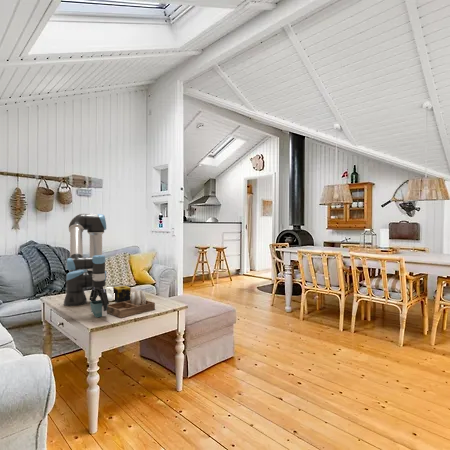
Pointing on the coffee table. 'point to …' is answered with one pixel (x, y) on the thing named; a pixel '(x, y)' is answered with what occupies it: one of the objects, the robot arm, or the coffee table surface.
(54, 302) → the coffee table surface
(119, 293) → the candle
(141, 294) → the tray
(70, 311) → the coffee table surface
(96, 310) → the flower pot
